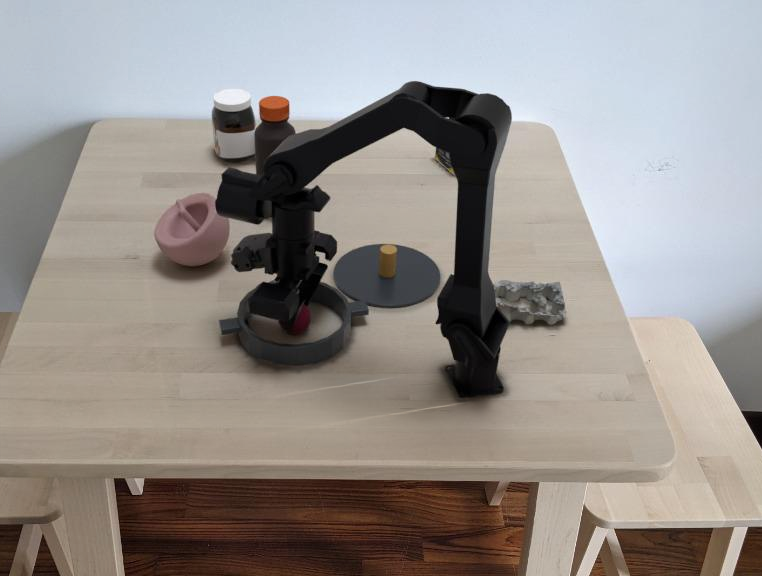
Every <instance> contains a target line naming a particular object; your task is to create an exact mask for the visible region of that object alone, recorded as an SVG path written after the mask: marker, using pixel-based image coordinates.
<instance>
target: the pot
mask: <svg viewBox="0 0 762 576" xmlns="http://www.w3.org/2000/svg"><path fill="white" fill-rule="evenodd" d="M266 282H267V281H266ZM267 283H272V284H276V285H277V284H278V283H274V279H273V280H271V281H268V282H267ZM254 289H255V288H252V289H251V290H250V291H248V292H247V293H246V294H245V295H244V297H243V298H242V299H241V300H240V301H239V305H238V308H237V311H236V317H231V318H224V319H223V318H222V319H219V320H218V324H219V325H218V326H219V329H220V333H221V334H220V335H221V336H225V335H234V334H238V336H239V340H240V344H241V346H243V347H244V349H245V350H246V352H248V353H249V354H250V355H252V356H253V357H254V358H256V359H260V360H262V361H265V362H269V363H272V364H276V365H280V366H294V367H296V366H297V367H298V366H306V365H312V364H313V365H314V364H317V363H320V362H322V361H326V360H328V359H330V358H332V357H334V356H335V355H336V354H338V353H339V352H340V351H342V350H343V349H344V348H345V346H346V344H347V343H348V342H349V340H350V339H351V330H352V329H351V328H352V318H356V317H363V316H369V314H370V309H369V307H368V305H366V302H365V301H350V302H349V300H348V298H347V296H346V295H345V294H344V293H343V292H342V291H341V290H340V289H339V288H336V287H334V286H331V285H330V284H328V283H326V282H323V281H320V283H319V285H318V287H317V289H316V291H315V293H314V295H313V297H312V299H311V301H314V302H317V303H321V304H323V305H325V306H327V307H329V308H330V309H332V310H334V311H335V312H336V313H337V314H338V315H339V316H340V317H341V318H342V321H343V322H342V323H341V326H340V327H339V328H338V329H336V330H335V331H334V332H332V333H331V334H330V335H328V336H326V337H324V338H321V339H318V340H315V341H310V342H304V343H283V342H282V343H281V342H276V341H274V340H270V339H267V338H264V337H262V336H260V335H258V334H257V333H255V332H254V331H252V329H251V327H250V323H249V317H250V316H251V313H249V311H248V308H247V298H248V297H249V296H250V294H251V293H252V292H253V291H254Z"/></svg>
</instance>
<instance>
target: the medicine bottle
mask: <svg viewBox="0 0 762 576" xmlns="http://www.w3.org/2000/svg"><path fill="white" fill-rule="evenodd" d="M448 119H451V120H455V119H456V118H448ZM434 152H435V153H434V160H436V161H437V162H438V163H439V164H440V165H441V166H442V167H444V168H445V169H446V170H448V171H449V173H451V174H452V175H453V176H455V174H454V172H453V169H452V167H451V165H450V158H449V152H448V151H445V150H442V149H439V148H436V147H435V151H434Z"/></svg>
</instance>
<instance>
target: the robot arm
mask: <svg viewBox="0 0 762 576" xmlns="http://www.w3.org/2000/svg"><path fill="white" fill-rule="evenodd" d="M512 115H513V114H512V110H511V107H510V106H509V105H508V104H507V103H506V102H505V101H504V99H502V98H501V97H499V96H498V95H496V94H492V93H476V92H474V91H472V90H471V91H470V90H467V89H465V88H461V87H460V88H458V87H448V86H447V87H445V86H434V85H431V84H428V83H426V82H422V81H418V80H411V81H407V82H405V83H404V84H402V86H401V87H400V88H398V89H396V90H395V91H392V92H391V93H389V94H387V95H385V96H384V97H381V98H380V99H378V100H376V101H374V102H372V103H371V104H368V105H367V106H365V107H362V108H361V109H359V110H357V111H355V112H353V113H352V114H350V115H347V116H346V117H344V118H342V119H340V120H339V121H337V122H334V123H333V124H331V125H329V126H325V127H323V128H319V129H318V128H311V129H307V130H303V131H300V132H297V133H296V134H293V135H291V136H289V137H288V138H286V139H285V140H284V141H283V142H282V143H281V144H280V145H279V146H278V147H277V148H276V150H275V151H274V152H273V153H272V154H271V155H270V156H269V157H268V158H267V159H266V160H265V162H264V173H263V174H262V175H257V174H256V173H253V172H247V171H244V170H240V169H238V168H235V167H231V166H228V167H227V168H226V169H225V170H224V171H223V172H222V173H221V181H220V184H219V187H218V189H217V194H216V200H215V207H216V211H217V214H218V215H220V216H222V217H227V218H228V219H230V220H235V221H240V222H243V223H249V224H253V225H256V226H259V225H261V224H262V223H263V222H264V220H268V219H269V218H270V216H271V214H272V218H271V232H264V233H255V234H248V235H246V236H244V237H243V238H242V239H241V240H240V241H239V242H238V244H237V245H235V247H234V248H233V250H232V253H231V254H230V257H231V260H230V265H231V266H233V268H234V270H235V271H236V272H238V273H246V272H252V271H253V270H259V269H264V274H265V275H266V274H267V275H271V276H274V274H275V275H276V277H275V278H274V279H273V280H274V283H278V284H277V285H276V284H272V283H267V281H261V282H260V283H259V284H257V285H256V286H255V287H254V288H253V289H254V291H253V292H252V293H251V294H250V296H249V297H248V298H247V308H248V311H249V313H251V314H252V315H255V316H259V317H264V318H267V319H271V320H275V321H278V322H279V321H280V323H281V325H282V327H283V329H282V330H283V331H284V332H286V333H288V332H291V331H292V329H293V327H294V325H295V323H296V320H297V318H298V316H299V313H300V311H301V309H302V306H303V304H305V305H306V306H307V307H308V306H309V304H310V303H311V301H312V300H311V299H312V297H313V295H314V293H315V291H316V289H317V287H318V285H319V283H320V282H322V279H323V277H324V276H325V273H326V272H327V270H328V268H329V265H328V264H327V263H324V262H320V256H319V255H317V252H318V253H322V254H324V259H325V260H326V261H328V262H332V260H333V259H334V257H335V256H336V254H337V253H338V241H337V240H336V238H335V237H334V236H333V235H332V234H330V233H329V234H328V233H326V232H325V233H324V232H321V231H319V230H315V227H316V226H315V223H316V222H315V217H316V213H321V212H322V211H323V209H324V208H325V207H326V206H327V204H328V203H329V202H330V200H331V196H330V195H329V194H328V193H327V192H326V191H324V190H322V189H321V187H320V185H318V184H316V185H315V186H314V187H312V188H309V187H307V186H308V185H309V184H310V183H312V182H313V181H314V180H315V179H317V178H318V177H319V176H320V175H321V174H322V173H324V171H326V170H327V169H328V168H329V167H330V166H332V165H333V164H335V163H336V162H338V161H340V160H342V159H345V158H346V157H348V156H350V155H351V156H352V154H354V153H356V152H358V151H360V150H363V149H364V148H366V147H368V146H370V145H373V144H375V143H376V142H378V141H380V140H382V139H385V138H386V137H389V136H390V135H393V134H395V133H396V132H397V133H398V131H399V132H400V131H401V130H403V129H406V130H408V131H411V132H413V133H415V134H416V135H417V136H419V137H420V138H422V139H423V140H424V141H425V142H427V143H428V144H430V145H431V146H432V147H434V148H435V149H436V148H439V149H442V150H445V151H448V152H449V158H450V165H451V167H452V169H453V172H454V174H455V175H454V176H455V178H456V181H457V197H456V198H457V199H456V219H455V239H454V240H455V241H454V242H455V243H454V264H453V274H452V273H450V274H449V275H448V277H447V280H446V281H445V283H444V285H443V287H442V288H441V291H440V292H439V294H438V296H437V297H436V305H437V313H438V315H437V319H436V321H435V323H434V324H435V325H440V326H439V328H440V333H441V336H442V337H443V338H445V339H446V340H447V341H448V344H449V348H450V353H451V355H452V359H453V360H454V364H447V365H445V367H444V372H445V374H446V375H447V377H448V379H449V381H450V383H451V385H452V386H453V389H454V391H455V393H456V394H457V396H458V398H460V399H464V398H465V399H466V398H473V397H479V396H486V395H492V394H500V393H503V392H504V390H505V387H504V385H503V383H502V382H501V380H500V377H499V376H498V375H497V372H498V367H499V362H500V356H501V355H500V354H501V349H502V347H501V346H502V343H503V340H504V338H505V336H506V334H507V331H508V330H509V327H510V325H511V321H509V320H508V319H507V318H506V317H505V315H504V314H503V313H502V312H501V311H500V309H499V308H498V307H497V306H496V299H495V291H494V285H493V284H494V283H493V281H492V279H491V277H490V274H489V263H490V251H491V250H490V249H491V237H492V225H493V224H492V222H493V212H494V211H493V209H494V197H495V184H496V183H495V182H496V174H497V170H498V167H499V165H500V162H501V158H502V156H503V152H504V149H505V147H506V144H507V139H508V136H509V132H510V130H511V129H510V128H511V125H512V120H513V116H512ZM449 118H456V119H455V120H451V119H449ZM308 308H309V307H308Z"/></svg>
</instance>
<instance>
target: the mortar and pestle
mask: <svg viewBox="0 0 762 576" xmlns="http://www.w3.org/2000/svg"><path fill="white" fill-rule="evenodd" d="M216 199H217V197H215V196H213V195H212V194H210V193H207V192H197V193H193V194H190V195H188V196H185V197H183V198H181V199H180V198H178V199H175V203H174V204H173V205H170V207H169V208H167V209H166V210H165V211H164V213H163V214H162V215H161V217H160V218H159V219H158V221H157V223H156V225H155V228H154V233H153V236H154V239H155V242H156V244H157V247H158V248H159V250H160V251H161V252H162V254H164V256H166V257H167V258H168V259H170V260H171V261H172V262H174V263H176V264H179V265H181V266H185V267H186V266H187V267H199V266H202V265H206V264H208V263H211V262H212V261H214V260H215V259H217V258H218V256H220V255H221V254H222V252H223V251H224V249H225V248H226V246H227V244H228V241H229V237H230V232H231V231H230V230H231V229H230V228H231V226H230V225H231V224H230V218H227V217H222V216H220V215H218V214H217V211H216V207H215V200H216Z"/></svg>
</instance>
